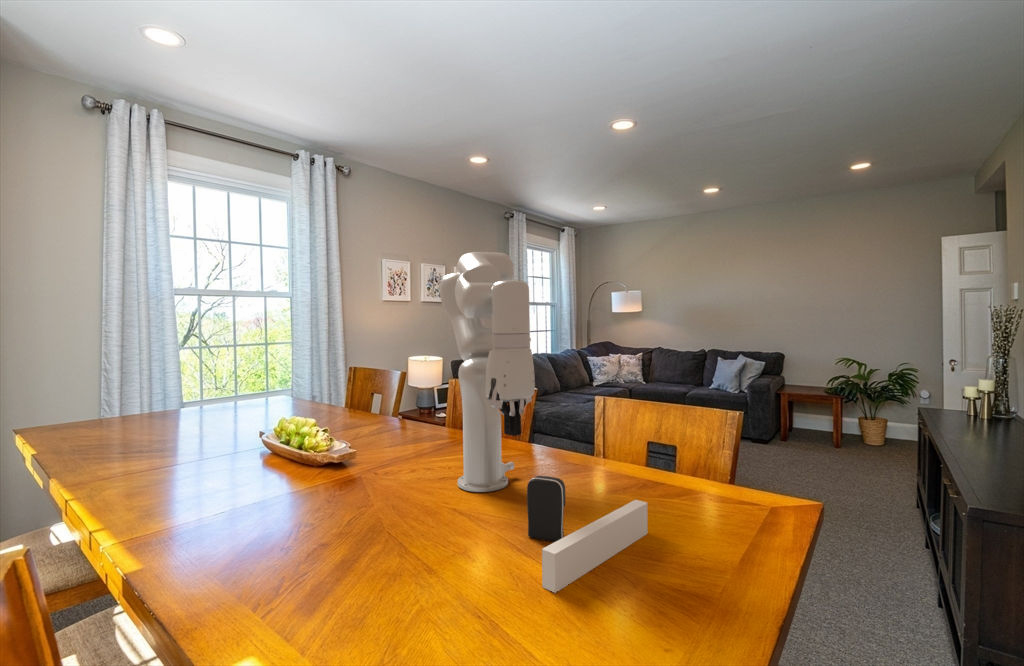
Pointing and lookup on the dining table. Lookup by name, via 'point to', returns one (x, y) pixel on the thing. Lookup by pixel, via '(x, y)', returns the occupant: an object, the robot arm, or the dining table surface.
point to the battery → (546, 508)
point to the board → (592, 545)
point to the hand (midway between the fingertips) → (512, 434)
